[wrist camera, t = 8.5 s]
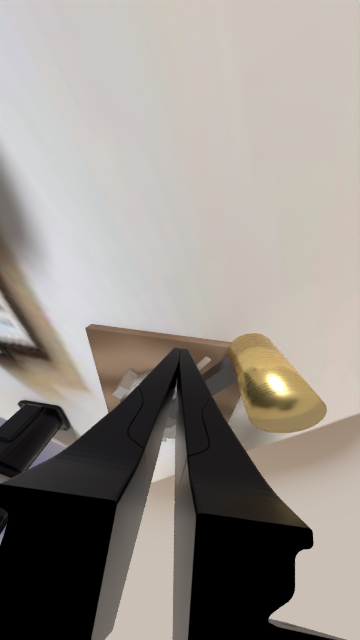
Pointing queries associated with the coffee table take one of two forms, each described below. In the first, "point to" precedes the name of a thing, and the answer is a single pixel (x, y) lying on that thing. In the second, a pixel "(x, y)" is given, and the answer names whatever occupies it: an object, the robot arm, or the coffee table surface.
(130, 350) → the nut base
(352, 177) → the coffee table surface
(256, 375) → the ring nut
